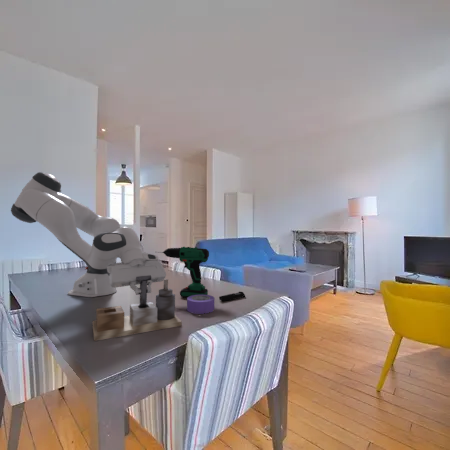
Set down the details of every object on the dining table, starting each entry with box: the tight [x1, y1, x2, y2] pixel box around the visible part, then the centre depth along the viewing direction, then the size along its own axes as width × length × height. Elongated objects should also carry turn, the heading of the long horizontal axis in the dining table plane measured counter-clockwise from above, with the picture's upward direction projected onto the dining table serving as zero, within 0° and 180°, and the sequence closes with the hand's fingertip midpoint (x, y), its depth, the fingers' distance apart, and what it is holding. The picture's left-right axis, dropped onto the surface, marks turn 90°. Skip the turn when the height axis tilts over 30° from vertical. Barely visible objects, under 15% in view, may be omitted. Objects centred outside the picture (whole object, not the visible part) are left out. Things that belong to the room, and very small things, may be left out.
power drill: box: [156, 246, 210, 299], centre depth 131 cm, size 6×29×25 cm, turn 79°
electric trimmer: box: [218, 291, 246, 302], centre depth 129 cm, size 4×16×3 cm, turn 130°
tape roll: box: [186, 294, 216, 315], centre depth 112 cm, size 12×12×5 cm
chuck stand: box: [92, 278, 183, 342], centre depth 93 cm, size 28×14×16 cm, turn 119°
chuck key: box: [136, 275, 151, 309], centre depth 94 cm, size 5×3×13 cm, turn 130°
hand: (144, 292), depth 93 cm, fingers closed on chuck key, 2 cm apart
